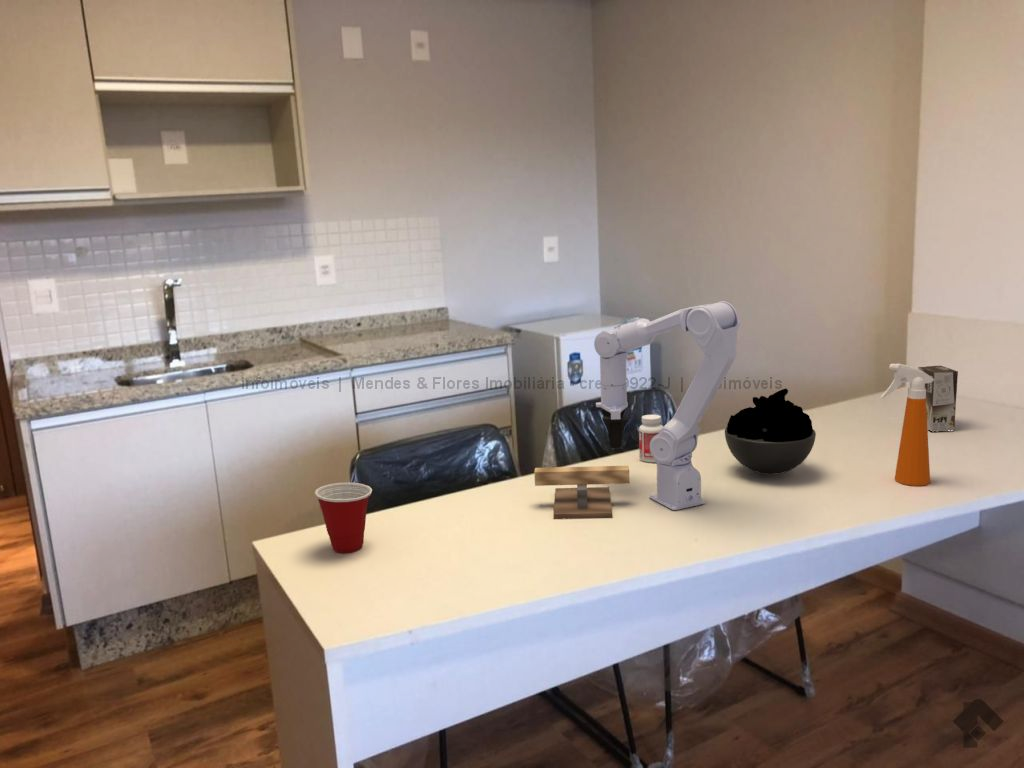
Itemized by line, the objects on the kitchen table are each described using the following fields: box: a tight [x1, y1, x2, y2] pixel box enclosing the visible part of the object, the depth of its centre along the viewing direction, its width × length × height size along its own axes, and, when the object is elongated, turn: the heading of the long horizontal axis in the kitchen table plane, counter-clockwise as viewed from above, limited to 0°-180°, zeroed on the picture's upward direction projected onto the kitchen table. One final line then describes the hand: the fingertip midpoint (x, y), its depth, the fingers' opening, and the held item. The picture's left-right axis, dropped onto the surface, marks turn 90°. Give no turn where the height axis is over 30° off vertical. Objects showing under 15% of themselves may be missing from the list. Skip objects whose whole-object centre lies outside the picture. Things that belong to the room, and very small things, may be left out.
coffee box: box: [917, 365, 959, 432], centre depth 218 cm, size 9×6×16 cm
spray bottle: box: [879, 363, 934, 487], centre depth 178 cm, size 7×11×26 cm, turn 78°
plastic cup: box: [314, 482, 373, 554], centre depth 159 cm, size 11×11×12 cm
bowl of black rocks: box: [724, 388, 817, 475], centre depth 189 cm, size 20×20×19 cm
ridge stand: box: [553, 485, 613, 520], centre depth 176 cm, size 16×12×5 cm
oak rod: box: [534, 465, 630, 487], centre depth 175 cm, size 20×3×3 cm, turn 86°
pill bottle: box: [638, 414, 664, 463], centre depth 204 cm, size 6×6×11 cm
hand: (614, 442), depth 185 cm, fingers open, 7 cm apart
